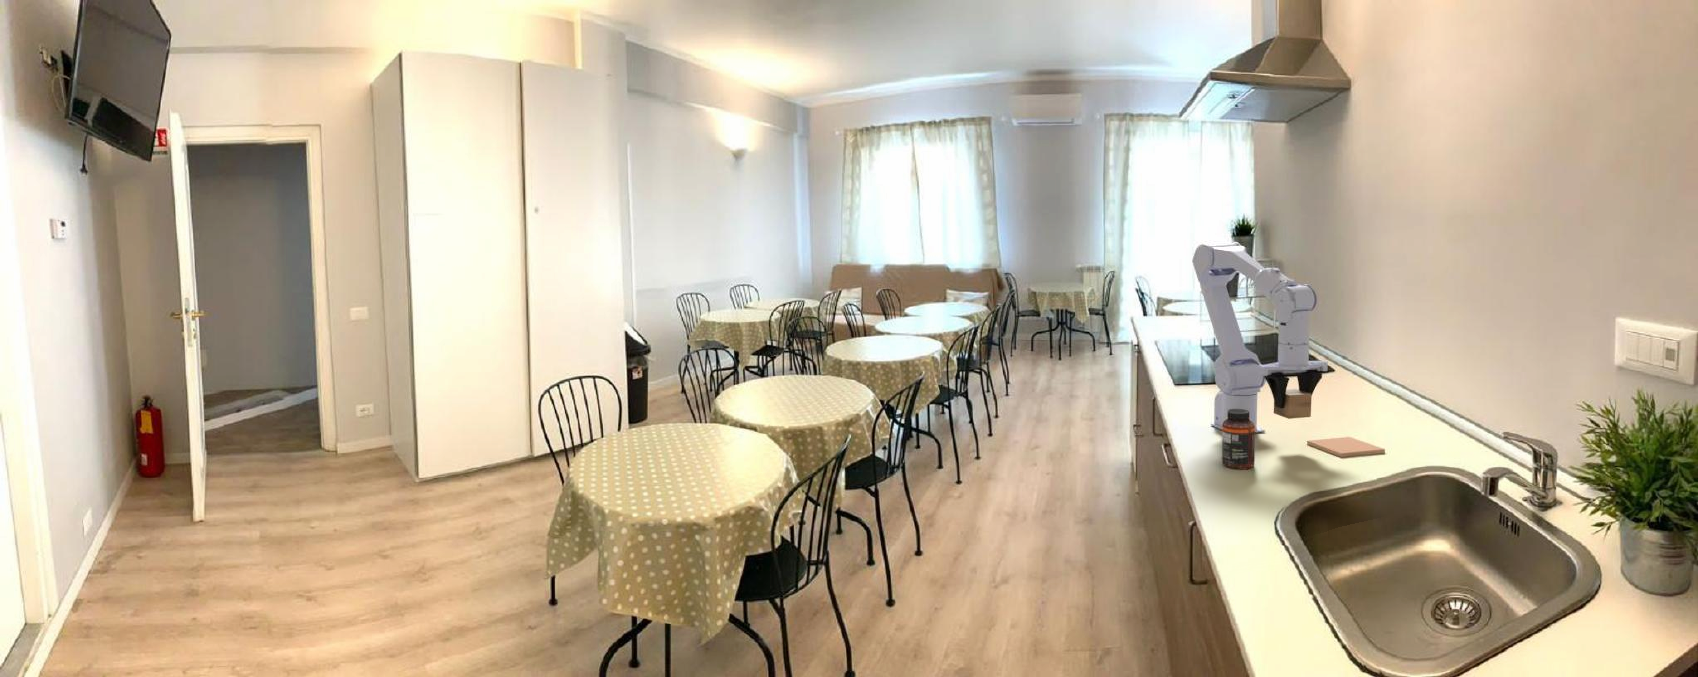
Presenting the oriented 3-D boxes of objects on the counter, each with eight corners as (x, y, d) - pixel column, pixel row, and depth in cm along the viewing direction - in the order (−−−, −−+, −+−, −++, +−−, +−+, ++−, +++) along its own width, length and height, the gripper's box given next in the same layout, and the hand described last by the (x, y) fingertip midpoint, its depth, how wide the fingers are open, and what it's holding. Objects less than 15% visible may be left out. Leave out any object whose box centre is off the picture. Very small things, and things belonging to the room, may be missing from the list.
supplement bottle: (1247, 460, 170) (1248, 406, 169) (1259, 469, 164) (1260, 413, 163) (1217, 461, 171) (1218, 407, 169) (1227, 470, 165) (1228, 414, 163)
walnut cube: (1273, 413, 179) (1274, 390, 178) (1295, 411, 180) (1295, 388, 179) (1288, 418, 174) (1289, 395, 173) (1310, 416, 175) (1311, 393, 174)
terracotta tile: (1307, 444, 179) (1307, 440, 179) (1349, 440, 181) (1349, 436, 181) (1340, 457, 170) (1340, 453, 169) (1384, 452, 171) (1384, 449, 171)
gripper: (1273, 348, 170) (1272, 413, 172) (1338, 343, 172) (1336, 407, 174) (1252, 343, 177) (1251, 405, 179) (1315, 338, 179) (1313, 400, 181)
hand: (1291, 406), depth 177 cm, fingers closed on walnut cube, 5 cm apart
